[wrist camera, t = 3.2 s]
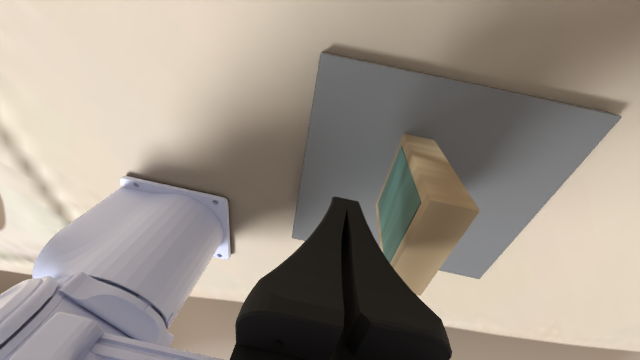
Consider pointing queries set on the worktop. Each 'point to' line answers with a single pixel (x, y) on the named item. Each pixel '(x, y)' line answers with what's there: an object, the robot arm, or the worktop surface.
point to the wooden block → (421, 211)
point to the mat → (454, 141)
